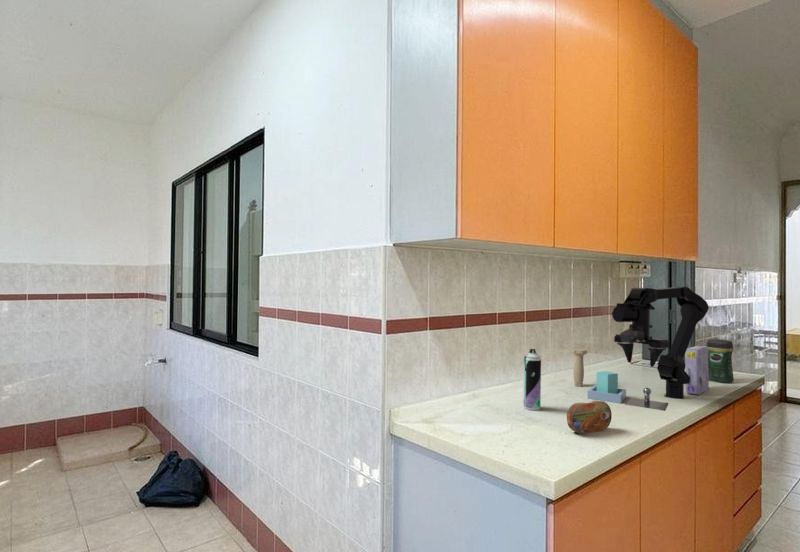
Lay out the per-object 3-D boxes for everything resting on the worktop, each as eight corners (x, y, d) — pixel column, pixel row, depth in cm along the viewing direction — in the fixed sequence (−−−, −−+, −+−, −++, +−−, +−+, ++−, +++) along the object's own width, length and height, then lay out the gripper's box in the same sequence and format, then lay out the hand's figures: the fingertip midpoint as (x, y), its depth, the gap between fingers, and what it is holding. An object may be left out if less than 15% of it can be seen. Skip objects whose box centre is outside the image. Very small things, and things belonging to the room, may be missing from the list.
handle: (581, 388, 184) (582, 351, 185) (568, 384, 190) (568, 348, 190) (589, 386, 187) (589, 350, 187) (575, 383, 192) (575, 348, 193)
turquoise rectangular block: (606, 395, 170) (606, 371, 170) (617, 398, 165) (617, 373, 165) (596, 396, 168) (596, 371, 168) (607, 399, 163) (607, 374, 163)
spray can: (531, 411, 149) (532, 350, 150) (520, 407, 154) (520, 348, 154) (543, 409, 152) (544, 349, 152) (532, 405, 157) (532, 347, 157)
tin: (572, 435, 126) (573, 405, 126) (564, 432, 129) (564, 402, 129) (612, 429, 132) (612, 400, 132) (603, 426, 135) (604, 398, 135)
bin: (594, 394, 174) (594, 385, 174) (625, 398, 168) (626, 389, 168) (587, 400, 165) (587, 390, 165) (620, 405, 159) (620, 395, 159)
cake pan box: (696, 386, 191) (696, 344, 192) (710, 388, 188) (710, 345, 188) (684, 393, 178) (684, 348, 178) (699, 396, 174) (699, 350, 174)
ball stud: (630, 399, 167) (630, 382, 167) (668, 404, 160) (668, 387, 161) (625, 406, 158) (625, 388, 158) (665, 412, 151) (665, 393, 151)
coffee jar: (736, 382, 201) (736, 340, 201) (727, 384, 196) (728, 341, 197) (712, 378, 209) (712, 337, 209) (703, 379, 205) (703, 338, 205)
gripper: (604, 320, 172) (603, 361, 172) (649, 324, 155) (649, 370, 155) (624, 319, 177) (624, 359, 176) (670, 324, 160) (670, 368, 159)
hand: (640, 364), depth 167 cm, fingers open, 9 cm apart
